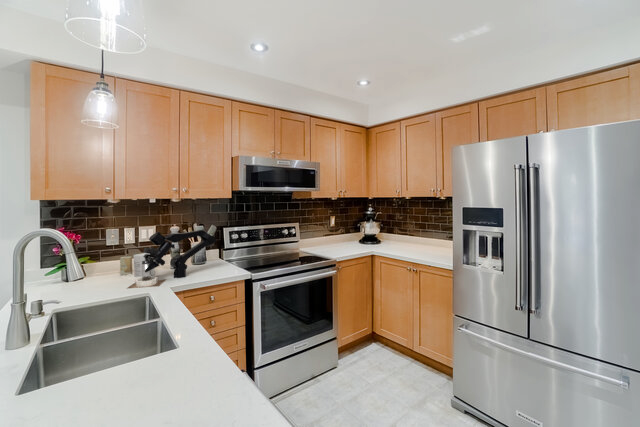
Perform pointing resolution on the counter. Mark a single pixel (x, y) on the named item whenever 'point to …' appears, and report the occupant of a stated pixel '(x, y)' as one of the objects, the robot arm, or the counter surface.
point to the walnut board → (147, 286)
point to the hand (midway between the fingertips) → (143, 271)
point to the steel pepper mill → (145, 275)
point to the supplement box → (139, 265)
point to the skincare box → (125, 265)
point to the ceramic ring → (146, 282)
